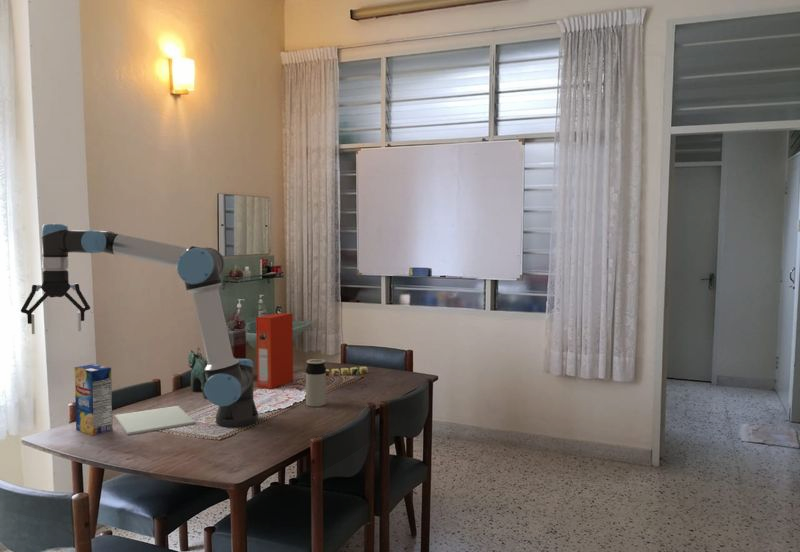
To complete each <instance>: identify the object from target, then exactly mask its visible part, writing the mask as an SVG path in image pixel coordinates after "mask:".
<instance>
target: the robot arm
mask: <svg viewBox="0 0 800 552" xmlns="http://www.w3.org/2000/svg"><path fill="white" fill-rule="evenodd" d="M41 246H42V247H41V248H42V269H43V271H42V284H35V283H34V284H32V285H31V291H30V293H29V295H28V297H27V298H26V300H25V302H24V304H23V305H22V307H21V309H20V312H21V313H22V314H26V316H27V317H26V318H27V324H28V325H31V334H32V335H35V334H36V333H35V329H36V328H35V313H34V311H36V309H37V308H38V307H39V306H40V305H41V304H42V303H43V302H44V301H45V300H46V299H47V298H48V297H49V298H62V297H65V298H67V300H69V301H70V302H71V304H73V305H74V306H75V307H76V308H77V309H78V310H79V311H77V331H78V332H82V322H84V321H85V312H86V311H89V310H90V309H91V306H90V305H89V303H88V302H87V300H86V298H85V296H84V294H83V293H82V291H81V289H80V285H79V283H77V282H75V283H72V284H70V281H69V271H68V270H67V269H69V253H83V254H84V253H85V254H87V253H88V254H97V253H104V254H105V253H106V254H110V255H117V256H122V257H127V258H132V259H137V260H141V261H146V262H151V263H155V264H159V265H165V266H170V267H174V268H176V271H177V275H178V277H179V278H180V279H181V280H182V281H183V282H184V285H185V290H186V292H188V293H189V294H191V295H192V300H193V303H194V308H195V312H196V316H197V321H198V326H199V330H200V335H201V340H202V344H203V348H204V353H205V356H206V358H205V359H206V360H207V362H208V363H207V366H206V367H205V369H204V370H205V375H206V379H207V381H206V383H205V388H204V391H205V395H206V397H207V399H206V400H208V401H209V402H210V403H211V404H213V405H215V406H218V409H217V412H216V413H215V414H216V415H215V424H216V425H218V426H219V427H220V426H221V427H227V428H230V427H231V428H235V427H236V428H237V427H239V428H240V427H246V426H249V425H253V424H255V423H257V422H258V421H259V412H258V409H257V406H256V404H255V400H254V362H253V360H252V359H249V358H246V359H236V358H234V357H233V353H232V349H231V344H230V340H229V335H228V331H227V330H228V326H227V322H226V317H225V314H224V310H223V304H222V300H221V295H220V291H219V290H220V287H221V286H222V283H223V282H222V279H221V275H222V273H223V271H224V268H225V259H224V258H223V255H222V254H221V253H220V251H218V250H217V249H215V248H212V247H199V246H193V245H191V246H189V247H185V246H179V245H175V244H169V243H165V242H160V241H155V240H150V239H145V238H141V237H136V236H130V235H125V234H120V233H116V232H114V231H111V230H110V231H109V230H94V229H90V230H85V229H84V230H82V229H81V230H77V229H76V230H73V229H69V227H68V225H67V224H62V223H46V224H43V225H42V228H41ZM71 288H72V290H73V291H75V293H76V295H77V296H78V298H79V299H80V301H81V302H82V304H83V306H81V304H79V303H78V302H77V300H75V298H73V297H72V296H71V294H70V293H68V291H70V289H71ZM40 289H41V290H42V291H43V292H44V293H43V294H42V295H40V297H39V298H38V299H37V300H36V301H35V303H34V304H32V306H31V307H29V306H30V304H31V302H32V300H33V298H34V296H35V295H36V292H39V291H40ZM28 307H29V309H28Z"/></svg>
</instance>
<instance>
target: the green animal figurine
mask: <svg viewBox="0 0 800 552" xmlns="http://www.w3.org/2000/svg"><path fill="white" fill-rule="evenodd" d="M197 350H198V351H197V352H195V351H193V349H190V351H191V352H190V353H189V354H188V360H187V361H188V362H187V364H188V367H189V368H190V369H191V372H190V391H191V392H193V393H197V392H201V391H202V396H203V399H205V400H208V399H207V397H206V395H205V391H204V388H205V383H206V381H207V379H206V375H205V370H204V369H205V367H206V366H207V363H208V362H207V358H205V357H204V356H203V354H202V353H201V348H200V347H198V348H197ZM199 351H200V352H199Z"/></svg>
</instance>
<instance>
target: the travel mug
mask: <svg viewBox="0 0 800 552" xmlns="http://www.w3.org/2000/svg"><path fill="white" fill-rule="evenodd" d="M306 363H307V365H306V368H305V405H306V406H308V407H312V408H318V407H319V408H320V407H323V406H324V405H326V404H327V402H326V401H327V389H326V388H327V385H326V384H327V383H326V382H327V377H326V369H327V367H326V366H325V363H326V360H325V359H323V358H322V359H321V358H311V359H307V360H306Z"/></svg>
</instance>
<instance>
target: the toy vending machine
mask: <svg viewBox="0 0 800 552" xmlns="http://www.w3.org/2000/svg"><path fill="white" fill-rule="evenodd" d="M226 326H227V331H228V335H229V340H230V344H231V349H232V353H233V357H234V358H236V359H247V332H246V329H241V328H240V329H239V328H238V322H237V321H236V320H229V321H228V322H227V324H226Z"/></svg>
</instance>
